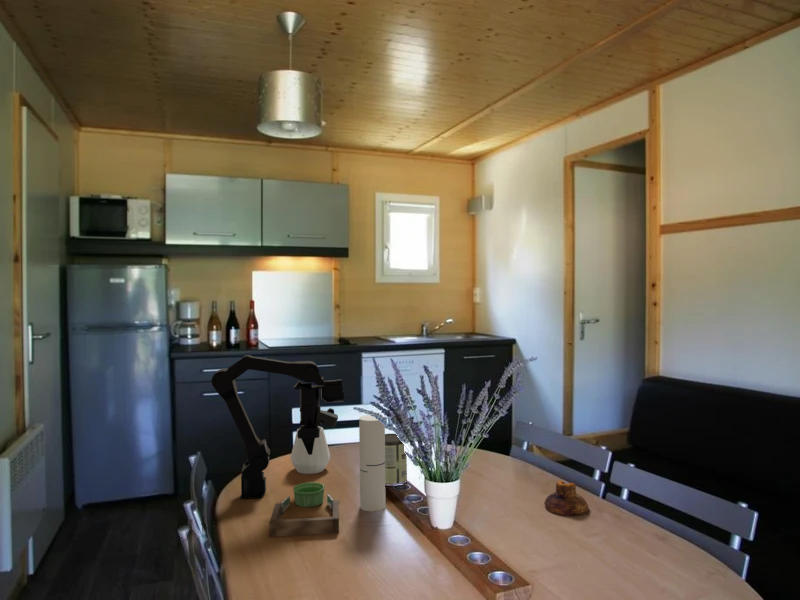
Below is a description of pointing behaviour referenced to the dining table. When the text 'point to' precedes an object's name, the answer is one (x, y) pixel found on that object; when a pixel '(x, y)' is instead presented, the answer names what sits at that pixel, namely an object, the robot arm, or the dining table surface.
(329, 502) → the bar
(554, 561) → the dining table surface
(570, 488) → the brown rounded necked piece
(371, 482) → the cylindrical container
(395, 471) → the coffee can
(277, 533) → the walnut dock
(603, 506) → the dining table surface
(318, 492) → the ramekin
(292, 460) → the cup
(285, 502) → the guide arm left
